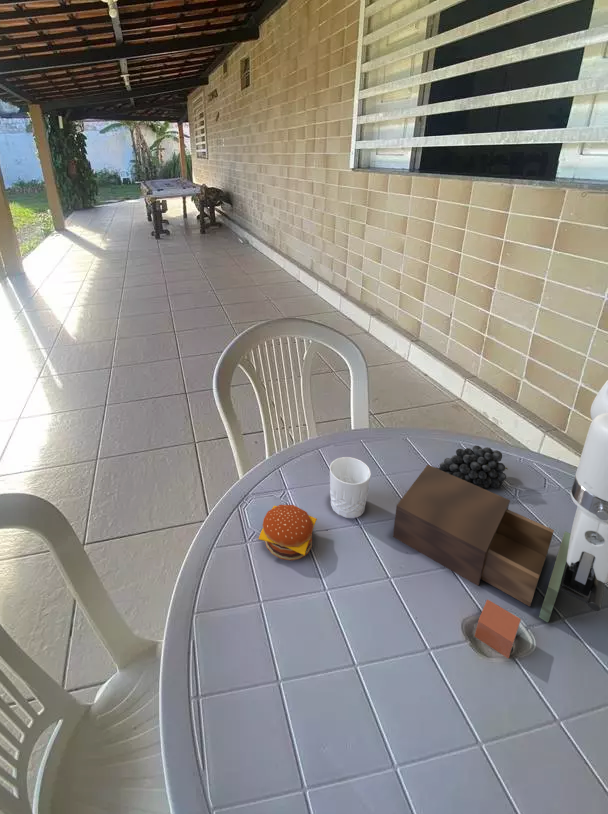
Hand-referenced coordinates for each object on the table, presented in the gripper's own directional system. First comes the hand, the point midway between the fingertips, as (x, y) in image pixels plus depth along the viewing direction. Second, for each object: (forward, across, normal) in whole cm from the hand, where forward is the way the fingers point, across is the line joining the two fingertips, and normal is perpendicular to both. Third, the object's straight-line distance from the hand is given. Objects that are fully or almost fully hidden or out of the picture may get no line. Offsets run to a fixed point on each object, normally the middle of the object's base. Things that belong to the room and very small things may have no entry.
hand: (575, 586), depth 66 cm
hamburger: (+3, -21, +40) cm, 46 cm away
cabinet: (+3, 0, +19) cm, 19 cm away
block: (+3, -14, +7) cm, 16 cm away
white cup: (+4, -6, +36) cm, 37 cm away
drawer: (+3, 0, +6) cm, 7 cm away
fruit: (+4, +18, +21) cm, 28 cm away
